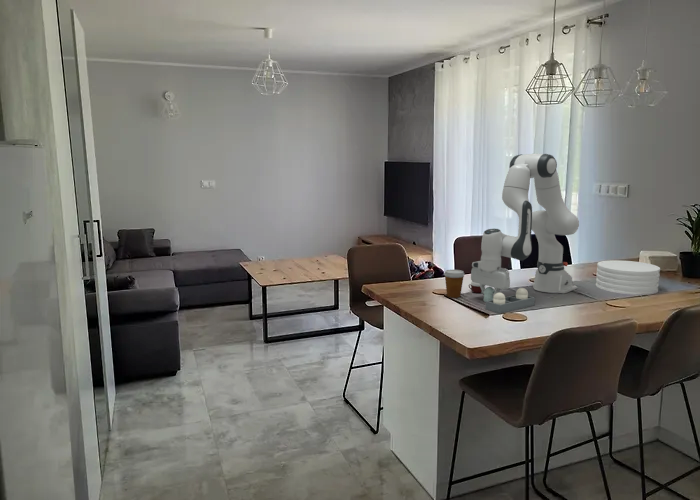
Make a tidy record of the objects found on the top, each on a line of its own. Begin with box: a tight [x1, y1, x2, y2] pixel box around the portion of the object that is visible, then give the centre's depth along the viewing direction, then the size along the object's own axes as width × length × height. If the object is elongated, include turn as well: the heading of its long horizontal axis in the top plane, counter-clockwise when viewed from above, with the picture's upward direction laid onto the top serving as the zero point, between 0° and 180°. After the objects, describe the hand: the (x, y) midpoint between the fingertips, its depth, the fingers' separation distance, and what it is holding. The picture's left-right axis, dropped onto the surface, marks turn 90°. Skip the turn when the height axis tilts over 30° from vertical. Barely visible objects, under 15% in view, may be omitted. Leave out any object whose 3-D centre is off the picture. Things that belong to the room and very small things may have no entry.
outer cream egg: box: [493, 291, 506, 305], centre depth 229 cm, size 5×5×8 cm
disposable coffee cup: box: [443, 269, 465, 299], centre depth 255 cm, size 10×10×12 cm
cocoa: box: [468, 281, 482, 294], centre depth 262 cm, size 10×6×12 cm, turn 29°
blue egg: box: [483, 286, 495, 303], centre depth 243 cm, size 5×5×8 cm
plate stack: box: [595, 259, 661, 296], centre depth 271 cm, size 28×28×12 cm
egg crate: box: [485, 294, 536, 314], centre depth 234 cm, size 22×8×4 cm, turn 123°
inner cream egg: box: [515, 287, 529, 300], centre depth 237 cm, size 5×5×8 cm
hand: (489, 295), depth 243 cm, fingers closed on blue egg, 5 cm apart
